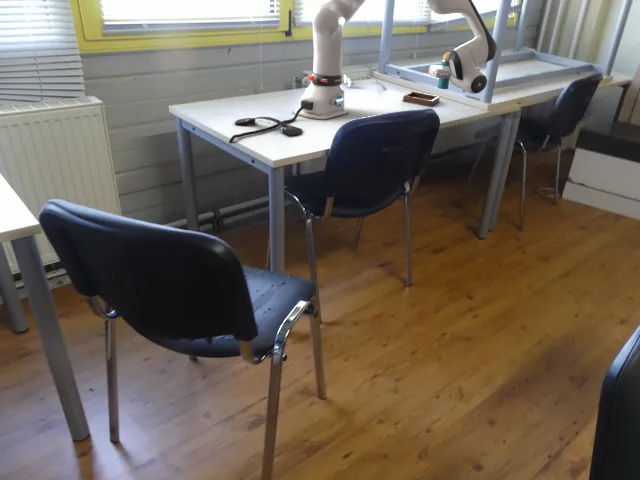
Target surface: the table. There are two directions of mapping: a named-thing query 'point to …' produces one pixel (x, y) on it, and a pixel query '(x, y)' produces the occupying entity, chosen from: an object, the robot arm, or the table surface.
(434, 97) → the tray
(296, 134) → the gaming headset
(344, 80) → the eyeglasses
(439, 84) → the toy figure
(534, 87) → the table surface
